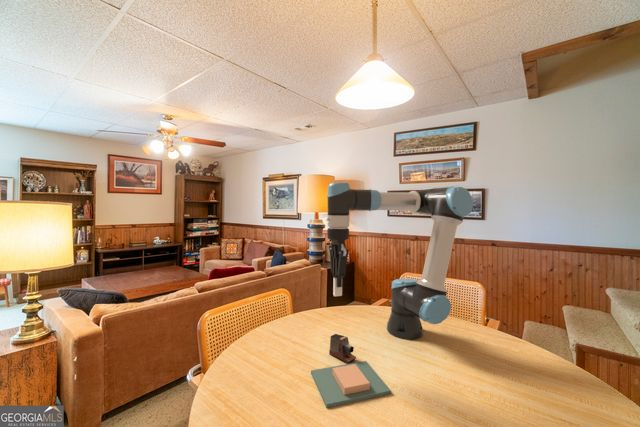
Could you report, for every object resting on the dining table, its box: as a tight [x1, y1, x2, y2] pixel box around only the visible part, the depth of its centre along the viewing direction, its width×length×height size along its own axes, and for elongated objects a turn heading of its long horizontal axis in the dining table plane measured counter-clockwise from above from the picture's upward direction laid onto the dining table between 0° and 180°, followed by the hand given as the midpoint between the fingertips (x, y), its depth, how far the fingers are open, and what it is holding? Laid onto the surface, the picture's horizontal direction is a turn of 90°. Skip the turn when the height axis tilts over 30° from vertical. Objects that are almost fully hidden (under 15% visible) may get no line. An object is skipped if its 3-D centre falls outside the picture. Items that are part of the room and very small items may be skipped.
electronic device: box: [328, 333, 357, 364], centre depth 99 cm, size 4×10×8 cm, turn 45°
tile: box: [332, 364, 370, 395], centre depth 83 cm, size 8×2×10 cm
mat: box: [310, 360, 392, 409], centre depth 84 cm, size 20×16×1 cm
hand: (337, 295), depth 94 cm, fingers closed
